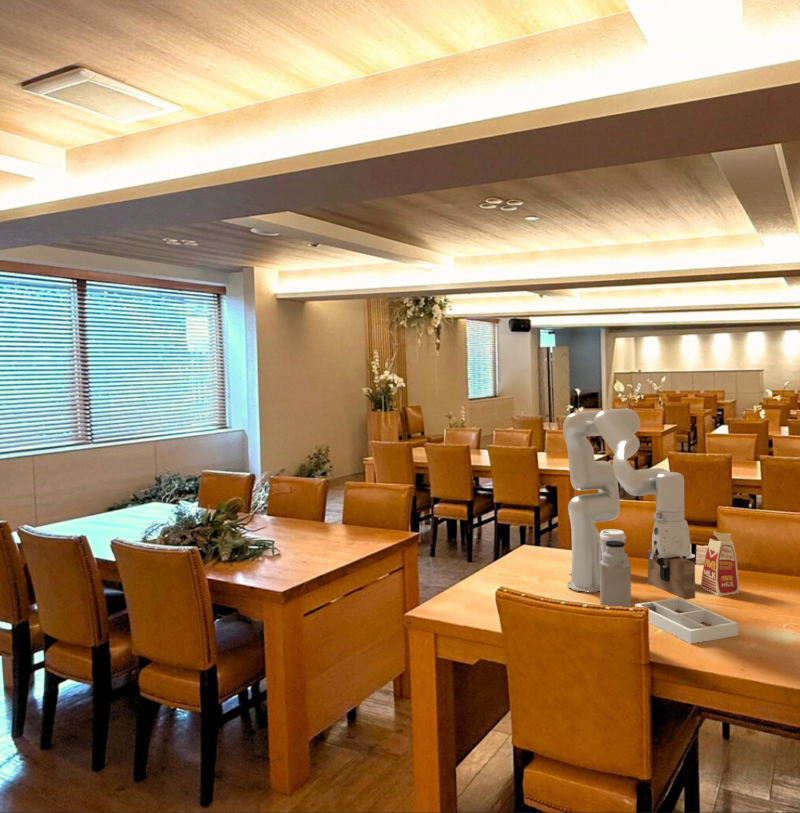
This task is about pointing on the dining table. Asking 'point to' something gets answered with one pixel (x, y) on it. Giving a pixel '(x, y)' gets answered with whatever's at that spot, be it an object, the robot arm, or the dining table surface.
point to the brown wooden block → (674, 576)
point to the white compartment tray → (689, 620)
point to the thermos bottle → (615, 576)
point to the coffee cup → (611, 537)
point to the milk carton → (720, 566)
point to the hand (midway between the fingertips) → (670, 579)
